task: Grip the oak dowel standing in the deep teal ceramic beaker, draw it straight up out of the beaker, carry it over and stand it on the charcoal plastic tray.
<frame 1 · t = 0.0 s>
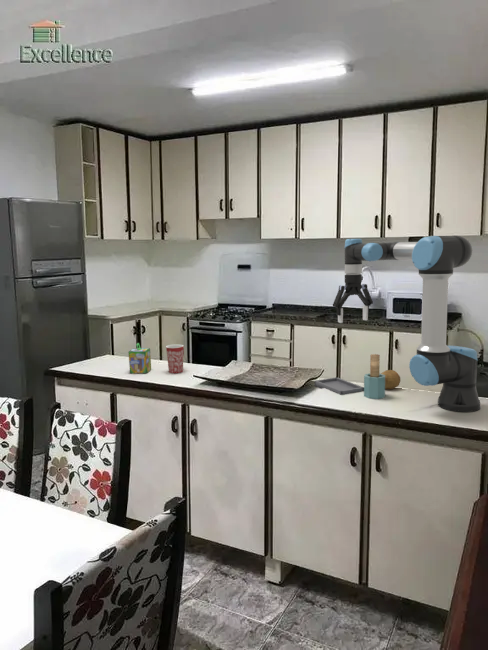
hand: (352, 321, 236), 28 cm above the worktop, fingers open, 13 cm apart
chalk box: (140, 371, 271), on the worktop
cup: (374, 398, 215), on the worktop
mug: (177, 371, 270), on the worktop
dowel: (374, 395, 214), point 1 cm above the worktop, touching cup
tray: (338, 389, 229), on the worktop
potato: (388, 389, 228), on the worktop
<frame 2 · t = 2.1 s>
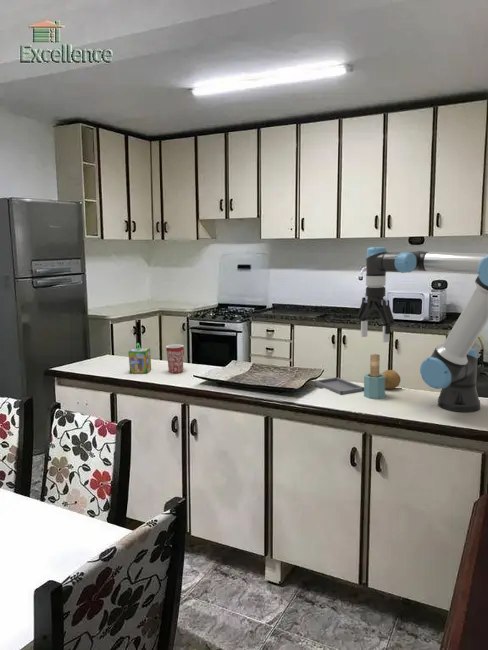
hand: (374, 339, 211), 24 cm above the worktop, fingers open, 13 cm apart
nothing on the worktop moved.
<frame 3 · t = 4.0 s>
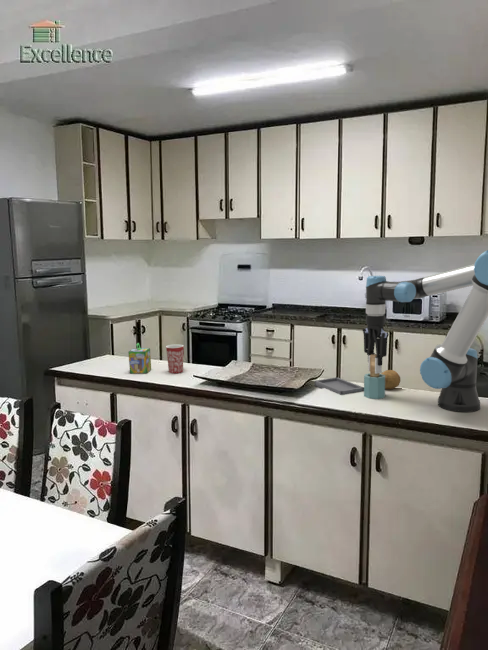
hand: (374, 371, 213), 11 cm above the worktop, fingers closed on dowel, 3 cm apart
dowel: (374, 395, 214), point 1 cm above the worktop, touching cup, gripper
everything else where it was.
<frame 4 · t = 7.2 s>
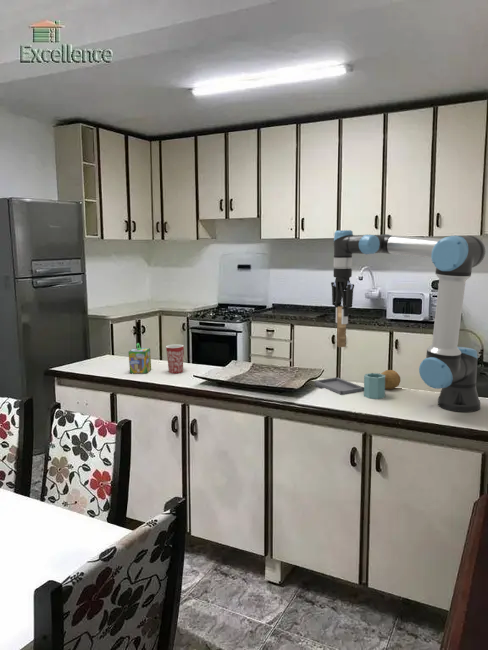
hand: (341, 323, 223), 29 cm above the worktop, fingers closed on dowel, 3 cm apart
dowel: (341, 346, 225), point 19 cm above the worktop, touching gripper
everything else where it was.
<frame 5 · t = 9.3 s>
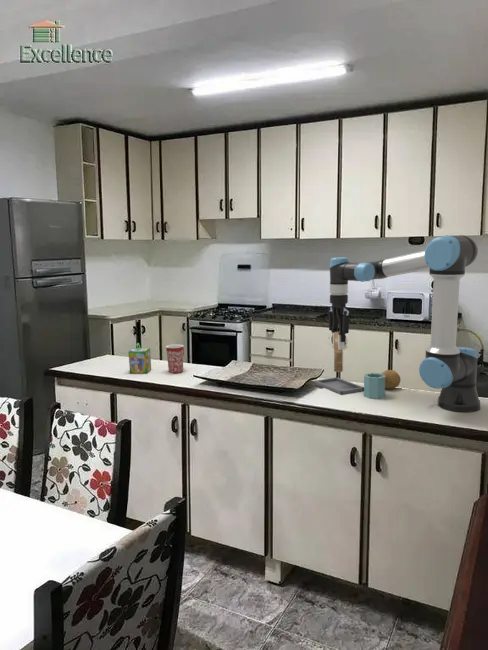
hand: (338, 348, 226), 18 cm above the worktop, fingers closed on dowel, 3 cm apart
dowel: (338, 370, 228), point 8 cm above the worktop, touching gripper
everything else where it was.
when the fingers open (12 cm above the worktop, at t = 10.7 s): dowel drops 2 cm, resting on tray.
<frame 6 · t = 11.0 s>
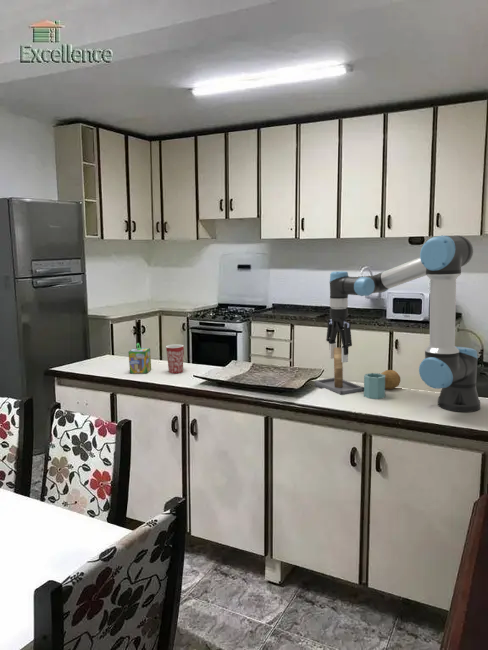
hand: (338, 360, 227), 13 cm above the worktop, fingers open, 8 cm apart
dowel: (338, 386, 228), point 1 cm above the worktop, touching tray
everything else where it was.
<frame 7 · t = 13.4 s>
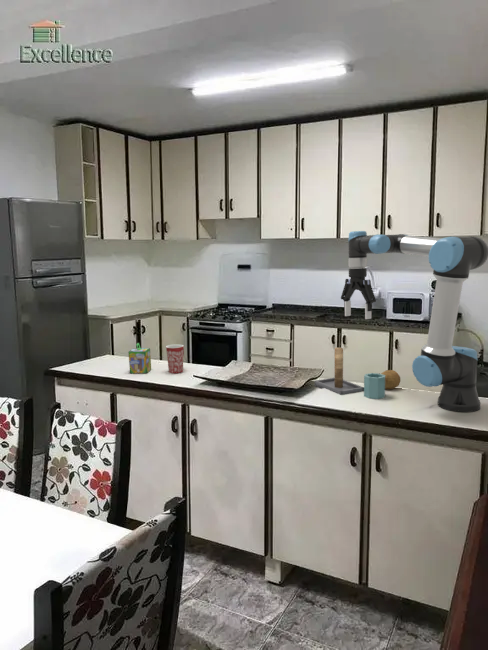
hand: (357, 317, 227), 31 cm above the worktop, fingers open, 13 cm apart
nothing on the worktop moved.
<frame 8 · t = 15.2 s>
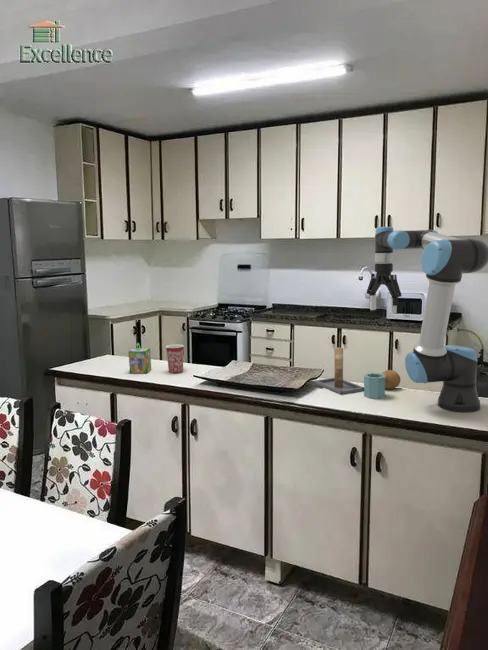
hand: (383, 311, 231), 33 cm above the worktop, fingers open, 13 cm apart
nothing on the worktop moved.
at the end: dowel inside the target area on the tray (0.0 cm from its centre), point 1.2 cm above the tray's base; the gripper is holding nothing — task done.
